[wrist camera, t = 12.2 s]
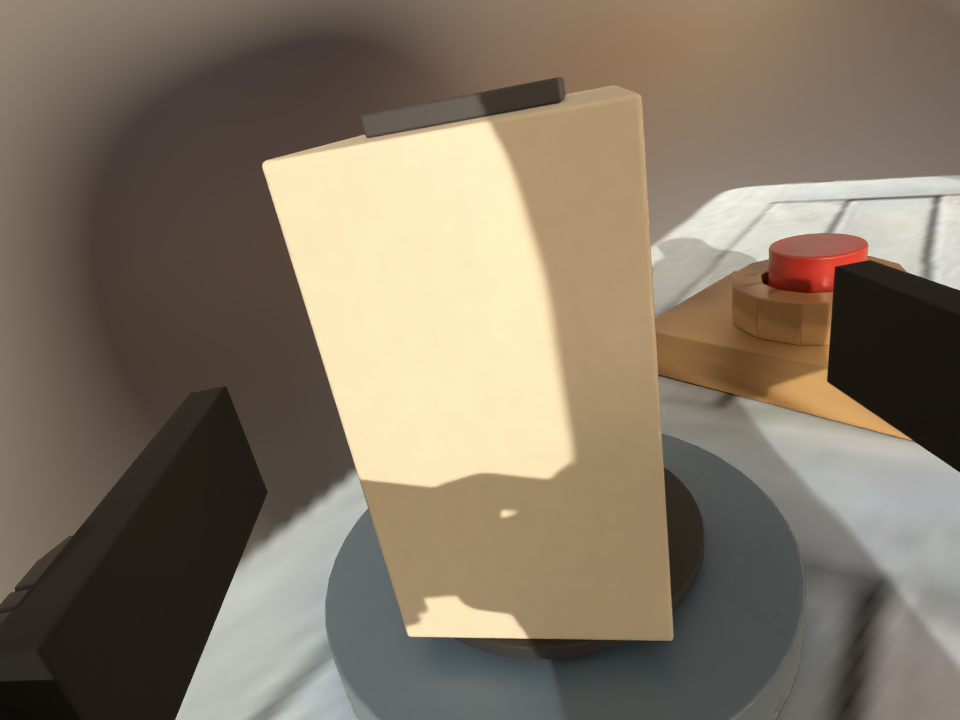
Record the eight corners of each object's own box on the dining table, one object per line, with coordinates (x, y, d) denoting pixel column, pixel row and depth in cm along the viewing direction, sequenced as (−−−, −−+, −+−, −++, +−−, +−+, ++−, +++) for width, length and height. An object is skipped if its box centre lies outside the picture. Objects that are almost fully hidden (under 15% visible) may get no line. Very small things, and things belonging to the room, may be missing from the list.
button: (878, 275, 25) (882, 234, 24) (843, 304, 23) (846, 260, 22) (791, 268, 28) (792, 231, 27) (752, 292, 26) (753, 253, 25)
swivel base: (888, 554, 16) (893, 511, 16) (577, 1018, 9) (565, 971, 9) (547, 421, 26) (543, 391, 25) (267, 600, 19) (253, 564, 18)
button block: (1009, 348, 25) (1028, 255, 23) (938, 448, 20) (956, 339, 18) (735, 307, 34) (734, 239, 32) (639, 370, 29) (633, 292, 27)
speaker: (737, 665, 12) (736, 41, 8) (361, 656, 14) (177, 150, 9) (679, 437, 20) (662, 59, 15) (441, 450, 22) (362, 116, 17)
